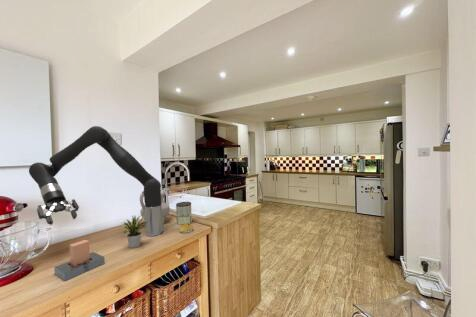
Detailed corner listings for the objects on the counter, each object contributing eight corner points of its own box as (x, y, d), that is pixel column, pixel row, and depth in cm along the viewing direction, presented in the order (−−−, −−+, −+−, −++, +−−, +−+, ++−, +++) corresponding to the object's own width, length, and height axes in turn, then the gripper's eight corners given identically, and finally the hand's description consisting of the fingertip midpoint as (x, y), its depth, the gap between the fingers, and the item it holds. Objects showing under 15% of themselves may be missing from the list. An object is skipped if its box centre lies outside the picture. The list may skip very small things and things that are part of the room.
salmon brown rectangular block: (86, 263, 87) (85, 239, 87) (89, 265, 86) (88, 241, 86) (70, 270, 83) (69, 244, 83) (74, 272, 81) (73, 246, 81)
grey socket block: (93, 258, 93) (93, 251, 93) (104, 263, 88) (104, 256, 88) (54, 274, 81) (54, 266, 81) (64, 281, 76) (64, 273, 76)
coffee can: (174, 223, 139) (173, 203, 139) (188, 219, 146) (187, 200, 146) (180, 226, 131) (179, 205, 131) (194, 223, 138) (193, 203, 138)
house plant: (133, 255, 95) (132, 221, 94) (111, 251, 99) (110, 219, 99) (154, 242, 108) (153, 212, 108) (134, 240, 112) (132, 211, 112)
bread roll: (185, 227, 130) (185, 221, 130) (195, 230, 125) (195, 223, 125) (175, 232, 123) (175, 225, 123) (185, 234, 118) (185, 227, 118)
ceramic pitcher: (156, 230, 129) (158, 192, 128) (130, 227, 132) (132, 190, 132) (174, 220, 150) (175, 187, 149) (151, 217, 154) (152, 185, 153)
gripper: (34, 192, 90) (45, 220, 84) (72, 187, 102) (84, 211, 96) (30, 202, 92) (41, 230, 87) (68, 196, 105) (79, 220, 99)
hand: (63, 220), depth 92 cm, fingers open, 8 cm apart
